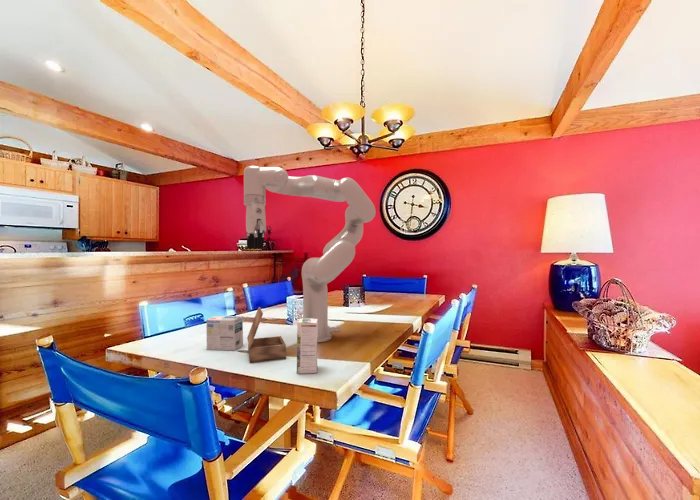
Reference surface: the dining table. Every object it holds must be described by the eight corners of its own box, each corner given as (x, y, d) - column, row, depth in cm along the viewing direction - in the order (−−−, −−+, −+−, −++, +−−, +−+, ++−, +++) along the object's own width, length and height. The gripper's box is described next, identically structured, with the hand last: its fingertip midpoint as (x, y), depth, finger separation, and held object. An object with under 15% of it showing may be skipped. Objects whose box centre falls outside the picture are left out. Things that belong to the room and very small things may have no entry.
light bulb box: (243, 345, 118) (243, 315, 118) (235, 351, 111) (235, 319, 111) (215, 344, 119) (215, 315, 119) (205, 350, 112) (205, 319, 112)
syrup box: (298, 366, 96) (298, 318, 96) (317, 366, 97) (317, 317, 97) (296, 374, 91) (296, 322, 90) (317, 373, 91) (317, 322, 91)
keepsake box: (281, 348, 113) (281, 336, 113) (285, 358, 103) (285, 344, 103) (248, 352, 110) (248, 339, 110) (249, 363, 99) (249, 348, 99)
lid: (260, 307, 111) (258, 306, 110) (263, 313, 101) (261, 312, 100) (249, 338, 109) (247, 338, 109) (250, 348, 99) (248, 347, 99)
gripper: (272, 199, 111) (272, 249, 111) (258, 205, 126) (258, 249, 126) (250, 197, 107) (250, 249, 107) (238, 203, 122) (238, 249, 122)
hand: (255, 249), depth 116 cm, fingers open, 9 cm apart
